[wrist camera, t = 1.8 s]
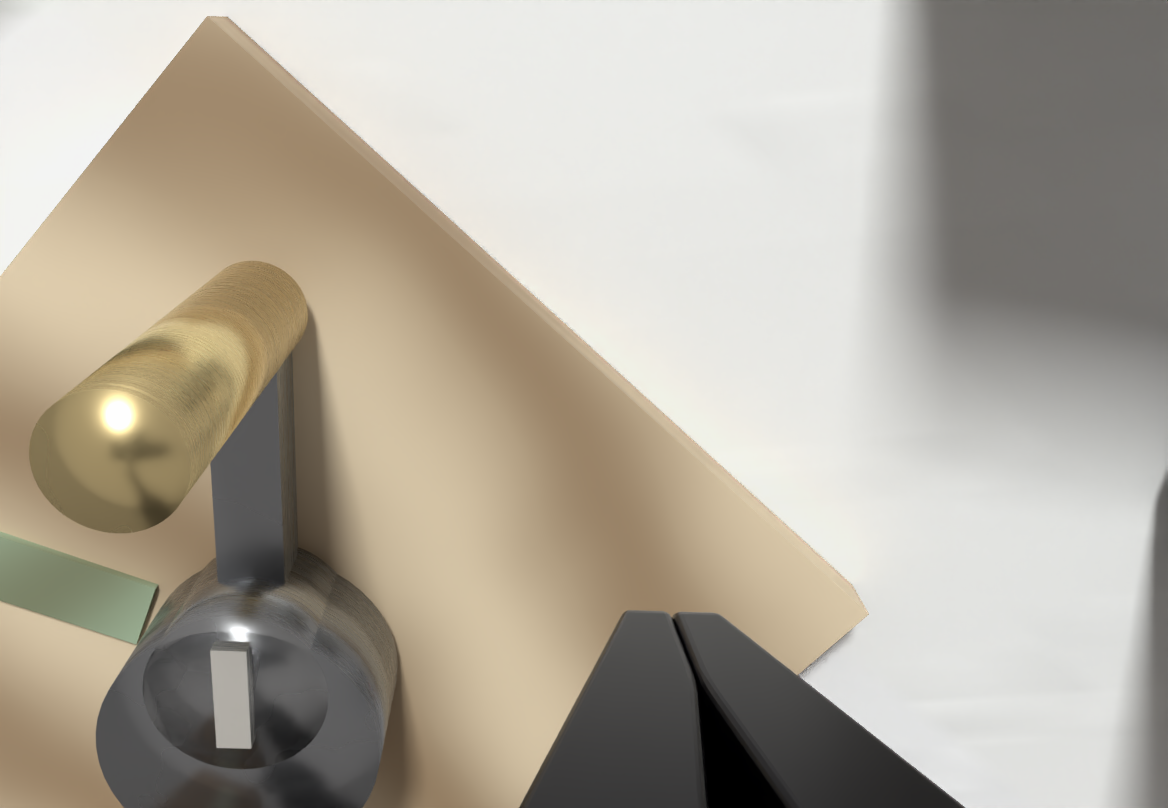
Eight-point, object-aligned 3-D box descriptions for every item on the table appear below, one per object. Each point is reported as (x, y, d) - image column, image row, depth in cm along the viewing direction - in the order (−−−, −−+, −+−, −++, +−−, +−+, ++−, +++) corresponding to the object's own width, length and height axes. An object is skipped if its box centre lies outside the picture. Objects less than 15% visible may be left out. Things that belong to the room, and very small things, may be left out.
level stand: (333, 1035, 27) (280, 1305, 21) (-291, 663, 22) (-573, 882, 16) (851, 585, 23) (957, 768, 17) (227, 16, 18) (91, 12, 12)
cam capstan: (397, 766, 22) (340, 1080, 15) (157, 760, 22) (-4, 1080, 15) (400, 265, 18) (328, 401, 12) (111, 250, 18) (-130, 379, 11)
